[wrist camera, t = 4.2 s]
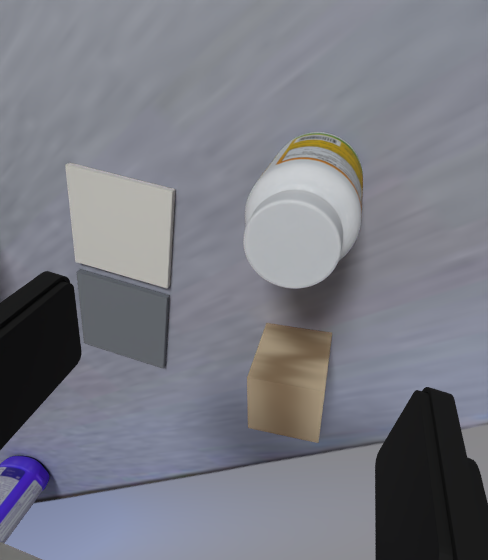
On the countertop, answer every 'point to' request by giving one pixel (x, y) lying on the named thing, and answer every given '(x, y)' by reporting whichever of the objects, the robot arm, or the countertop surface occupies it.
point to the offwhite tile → (121, 224)
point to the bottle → (18, 490)
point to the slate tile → (124, 318)
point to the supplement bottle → (304, 211)
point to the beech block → (289, 381)
